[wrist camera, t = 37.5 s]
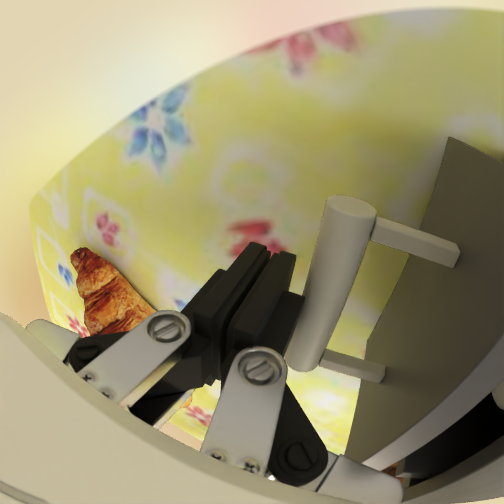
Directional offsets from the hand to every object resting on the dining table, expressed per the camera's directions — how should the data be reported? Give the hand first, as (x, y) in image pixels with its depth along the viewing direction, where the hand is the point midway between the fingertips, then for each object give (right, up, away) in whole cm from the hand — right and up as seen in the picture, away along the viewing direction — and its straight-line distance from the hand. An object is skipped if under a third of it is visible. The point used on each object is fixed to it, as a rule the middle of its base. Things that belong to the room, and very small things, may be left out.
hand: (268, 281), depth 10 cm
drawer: (+12, -1, +1) cm, 12 cm away
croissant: (-11, -7, +17) cm, 21 cm away
